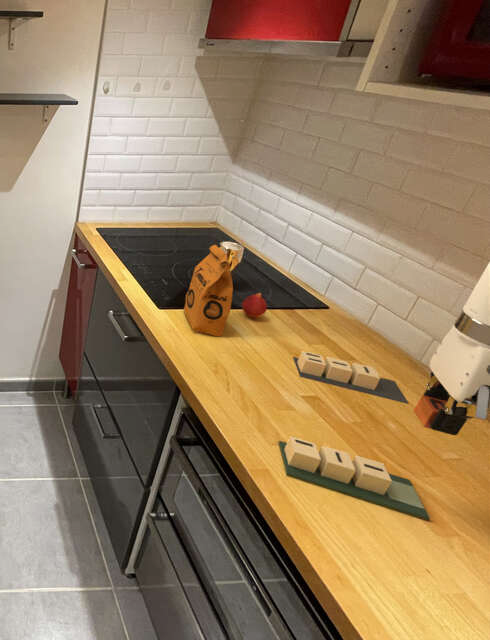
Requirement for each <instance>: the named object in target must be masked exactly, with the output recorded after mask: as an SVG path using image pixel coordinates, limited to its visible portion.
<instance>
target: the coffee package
mask: <svg viewBox="0 0 490 640" xmlns="http://www.w3.org/2000/svg"><path fill="white" fill-rule="evenodd" d="M209 251H210V252H209V254H208V255H206V256H205V257H204V258H203V259H202V260H201V261H200V262H199V263H198V264H197V265H196V266H195V267H194V270H193V273H192V277H191V281H190V283H189V288H188V291H187V292H186V295H185V304H184V308H183V311H184V314H185V318H186V319H187V321H188V323H189V325H190V326H191V329H192V330H193V332H194V333H197V334H198V333H199V334H200V333H201V334H204V335H211V336H214V337H222V336H223V332H224V329H225V327H226V323H227V320H228V318H229V316H230V313H231V308H232V302H233V291H234V284H233V278H231V273H230V269H229V263H228V258H227V254H226V253H225V252H223V251H222V250H221V249H220V248H219V245H217V244H214V245H211V246H210V247H209Z"/></svg>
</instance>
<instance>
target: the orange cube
mask: <svg viewBox="0 0 490 640" xmlns="http://www.w3.org/2000/svg"><path fill="white" fill-rule="evenodd" d="M446 404H447V401H444V400H440V399H436V398H432V397H428V396H424V394H422V395H421V397H420V398H419V400H418V401H417V403H416V406H415V407H414V408H413V412H414V414H415V415H416V417H417V418H418V420H419V421H420V423H421V425H422V426H423V427H424V428H427V429H430V430H432V429H431V427H430V424H431V423H432V421H433V419H434V418H435V416H436V415H437V413H438V411H439V410H440V408H441V409H445V406H446Z"/></svg>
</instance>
